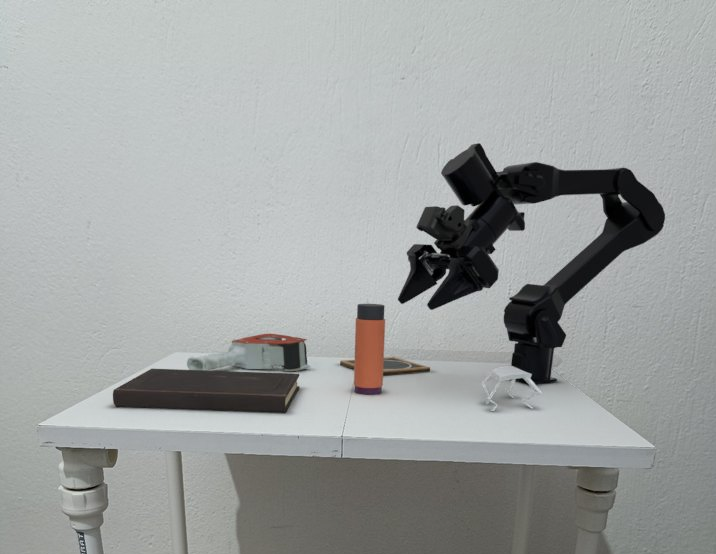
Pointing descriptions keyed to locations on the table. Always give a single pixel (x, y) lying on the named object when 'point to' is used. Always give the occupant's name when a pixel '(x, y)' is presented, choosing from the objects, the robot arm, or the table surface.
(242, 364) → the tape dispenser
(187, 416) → the table surface
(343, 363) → the square coaster
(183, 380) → the hardcover book
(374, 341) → the dot marker
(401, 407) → the table surface
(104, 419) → the table surface
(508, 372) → the white legged figure
